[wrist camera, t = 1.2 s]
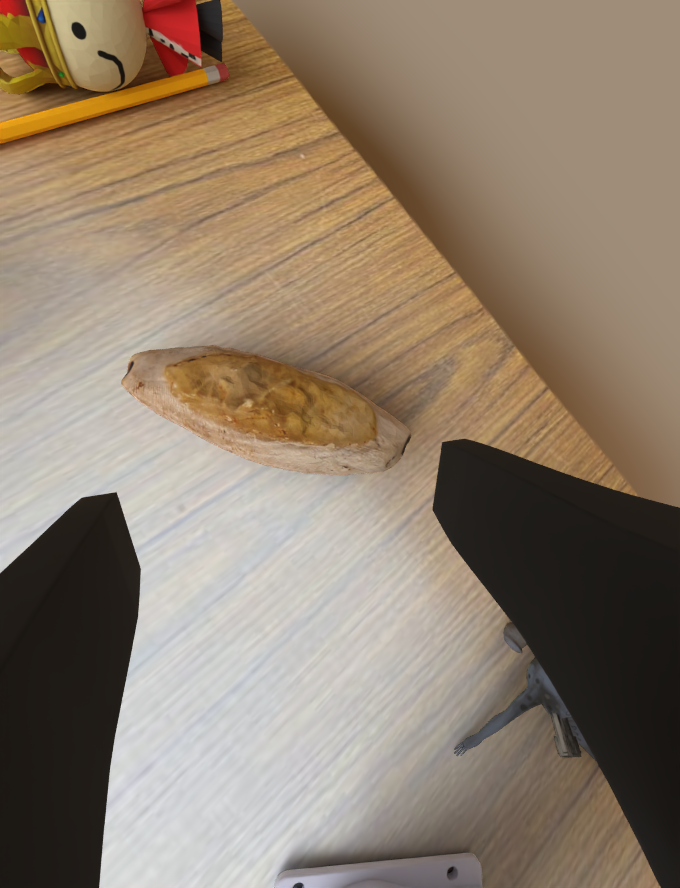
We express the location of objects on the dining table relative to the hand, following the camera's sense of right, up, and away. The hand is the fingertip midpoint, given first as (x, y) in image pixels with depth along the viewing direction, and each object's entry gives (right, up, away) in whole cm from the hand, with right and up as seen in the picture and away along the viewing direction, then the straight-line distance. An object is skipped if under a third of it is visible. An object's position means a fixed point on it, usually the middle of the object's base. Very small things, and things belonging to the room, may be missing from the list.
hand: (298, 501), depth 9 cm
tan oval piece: (-3, +3, +13) cm, 13 cm away
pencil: (-14, +20, +14) cm, 28 cm away
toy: (-6, +25, +14) cm, 29 cm away
